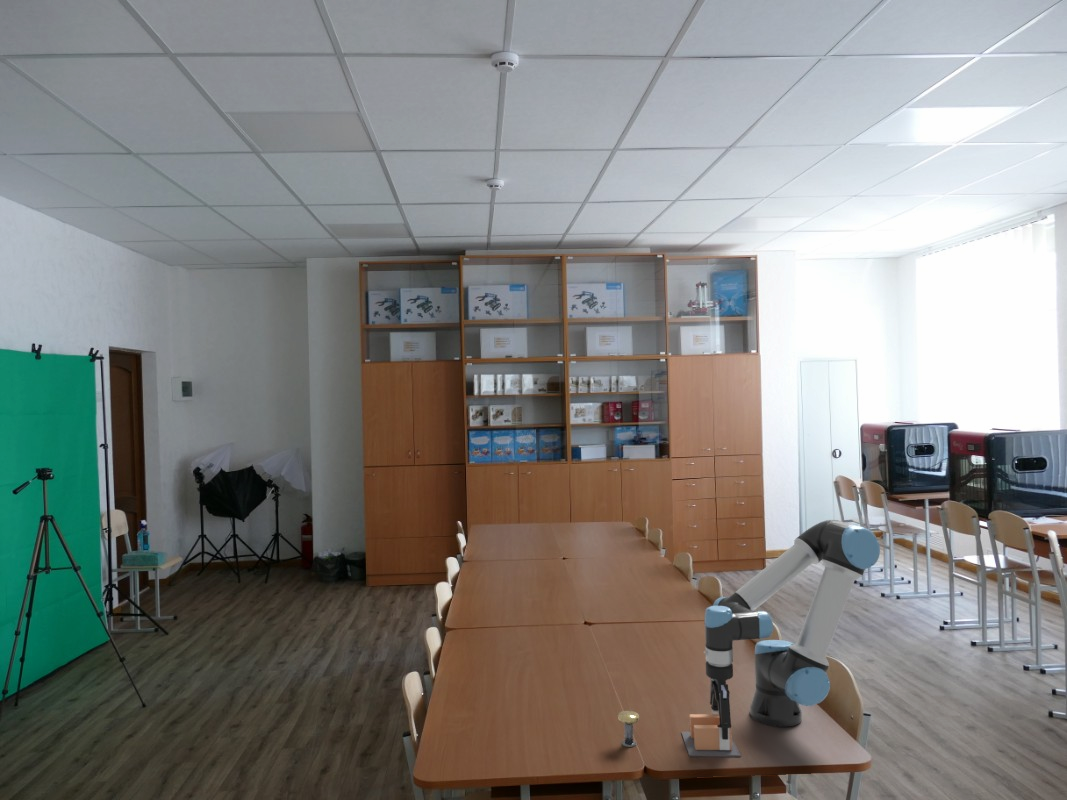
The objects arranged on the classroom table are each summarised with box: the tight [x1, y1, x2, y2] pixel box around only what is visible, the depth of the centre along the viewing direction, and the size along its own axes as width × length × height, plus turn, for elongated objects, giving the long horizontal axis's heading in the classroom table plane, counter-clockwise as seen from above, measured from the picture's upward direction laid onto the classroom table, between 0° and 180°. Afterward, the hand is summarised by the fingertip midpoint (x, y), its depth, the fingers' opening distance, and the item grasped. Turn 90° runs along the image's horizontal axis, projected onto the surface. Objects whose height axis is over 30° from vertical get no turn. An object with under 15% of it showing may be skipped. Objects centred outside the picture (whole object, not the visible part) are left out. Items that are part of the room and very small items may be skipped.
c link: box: [689, 713, 733, 750], centre depth 204 cm, size 10×9×6 cm
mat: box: [680, 731, 742, 758], centre depth 204 cm, size 14×14×1 cm
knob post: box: [617, 710, 640, 748], centre depth 205 cm, size 6×6×8 cm
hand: (720, 741), depth 203 cm, fingers closed on c link, 9 cm apart
